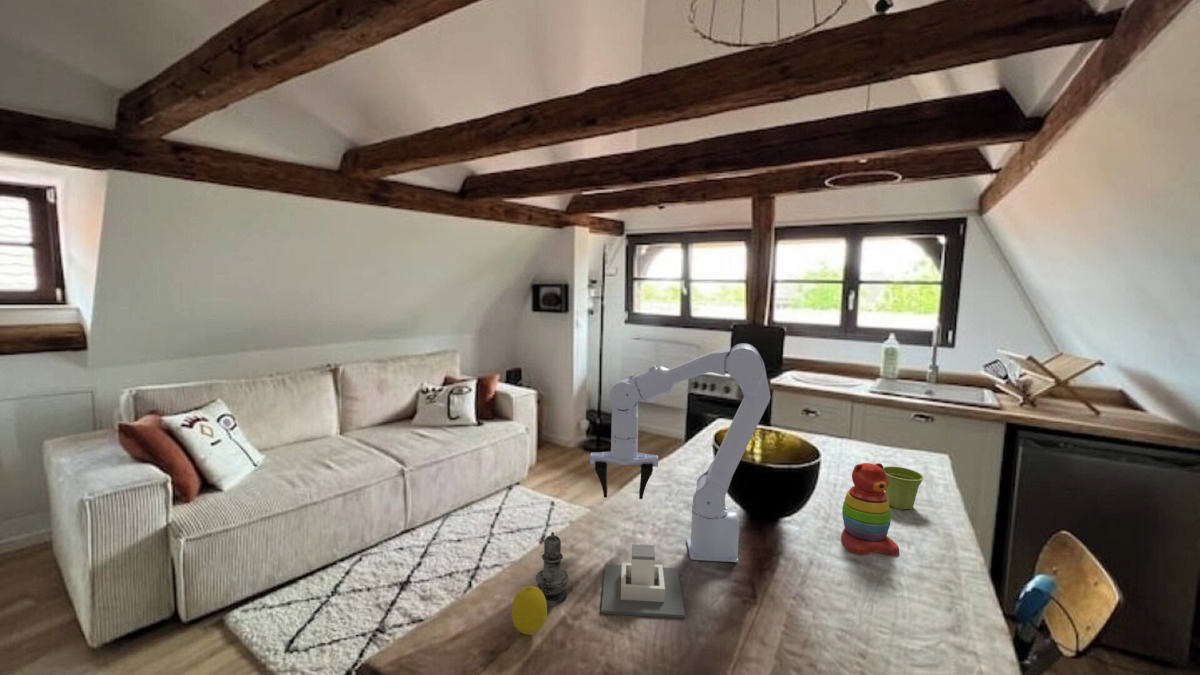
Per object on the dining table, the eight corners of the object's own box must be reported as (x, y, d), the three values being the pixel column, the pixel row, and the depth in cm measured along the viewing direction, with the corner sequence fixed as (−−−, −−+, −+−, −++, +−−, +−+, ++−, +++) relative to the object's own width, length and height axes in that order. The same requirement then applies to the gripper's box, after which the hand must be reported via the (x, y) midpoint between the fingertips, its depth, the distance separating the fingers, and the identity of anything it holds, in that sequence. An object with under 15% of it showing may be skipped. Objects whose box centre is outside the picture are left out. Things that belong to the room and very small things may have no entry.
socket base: (677, 571, 98) (678, 556, 98) (684, 618, 84) (685, 601, 84) (605, 567, 99) (605, 552, 99) (601, 613, 85) (601, 596, 85)
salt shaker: (563, 608, 86) (564, 542, 85) (530, 603, 87) (531, 537, 86) (572, 588, 92) (573, 525, 91) (541, 584, 93) (541, 522, 92)
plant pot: (921, 503, 132) (923, 471, 131) (920, 516, 124) (924, 482, 123) (880, 494, 136) (882, 463, 136) (877, 507, 129) (880, 474, 128)
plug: (652, 581, 94) (653, 545, 93) (653, 594, 90) (654, 557, 89) (630, 580, 94) (631, 544, 93) (631, 593, 90) (632, 555, 89)
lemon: (513, 623, 82) (513, 576, 81) (547, 621, 83) (547, 575, 82) (510, 647, 77) (510, 597, 76) (546, 645, 77) (546, 596, 76)
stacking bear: (852, 555, 105) (858, 472, 103) (829, 531, 115) (834, 456, 113) (903, 555, 105) (910, 473, 104) (876, 531, 115) (882, 456, 114)
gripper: (589, 439, 105) (588, 502, 106) (659, 442, 104) (657, 505, 105) (592, 430, 112) (591, 489, 113) (657, 432, 111) (656, 492, 112)
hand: (623, 496), depth 110 cm, fingers open, 7 cm apart
